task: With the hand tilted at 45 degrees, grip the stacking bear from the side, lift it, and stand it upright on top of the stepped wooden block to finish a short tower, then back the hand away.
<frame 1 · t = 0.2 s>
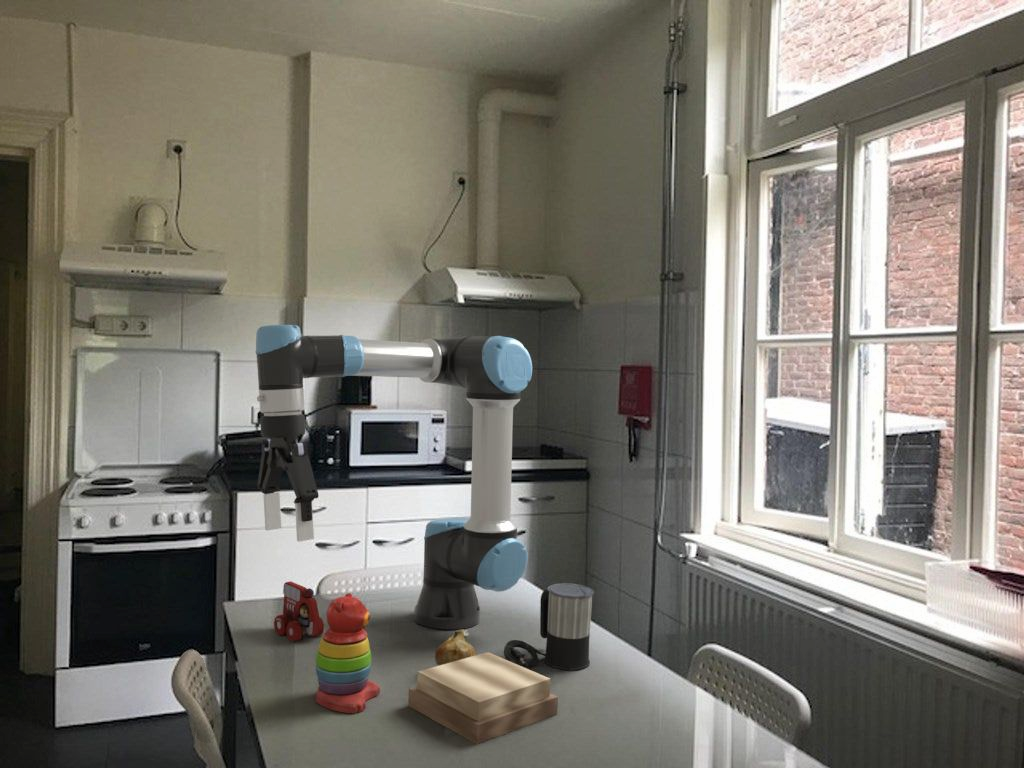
hand: (288, 534, 146), 27 cm above the table, tool pointing down, fingers open, 13 cm apart
stacking bear: (344, 700, 144), on the table
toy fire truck: (299, 636, 175), on the table
onion: (454, 673, 158), on the table
stepped wooden block: (482, 710, 141), on the table
milk frother: (547, 664, 165), on the table
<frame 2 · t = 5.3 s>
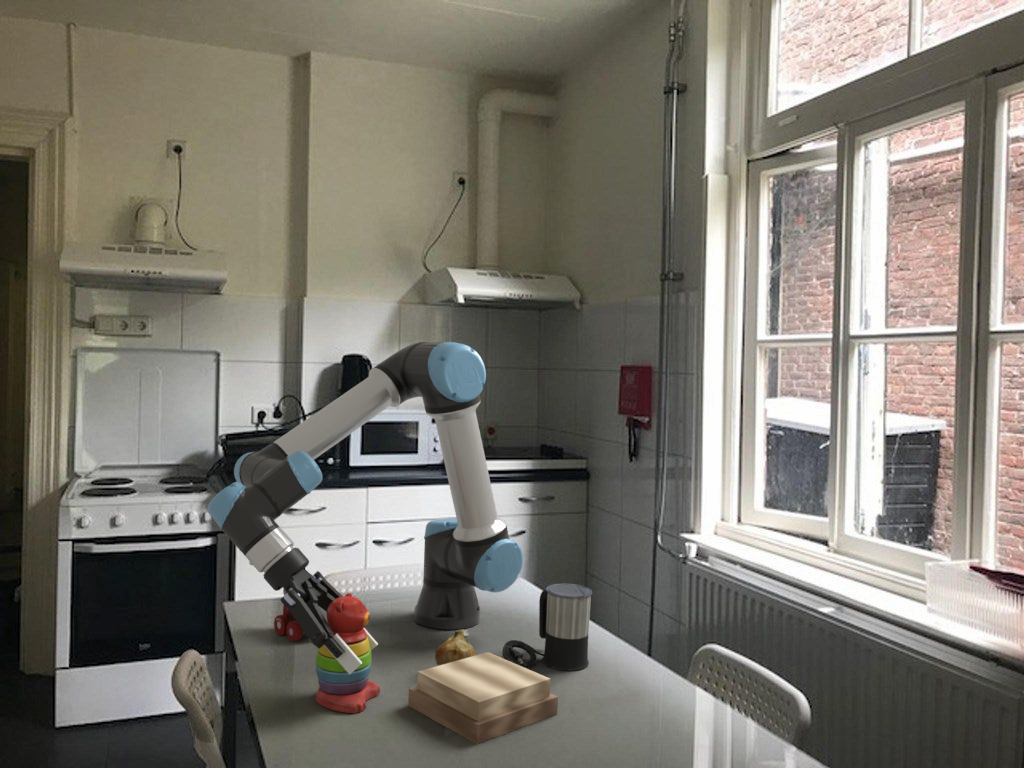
hand: (364, 658, 143), 7 cm above the table, tool tilted 45°, fingers closed on stacking bear, 9 cm apart
stacking bear: (344, 700, 143), on the table, touching gripper
everything else where it was.
when the fingers open (15 cm above the table, at t = 11.9 s): stacking bear drops 1 cm, resting on stepped wooden block.
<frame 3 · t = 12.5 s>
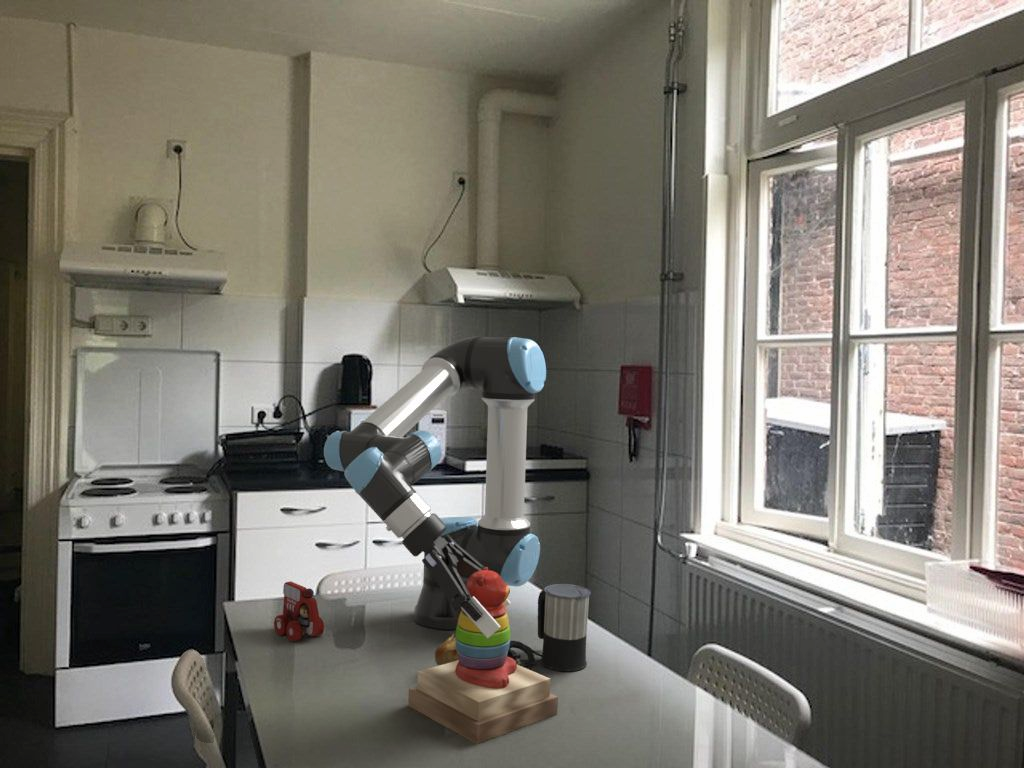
hand: (499, 619, 141), 16 cm above the table, tool tilted 45°, fingers open, 13 cm apart
stacking bear: (483, 675, 141), point 6 cm above the table, touching stepped wooden block
everything else where it was.
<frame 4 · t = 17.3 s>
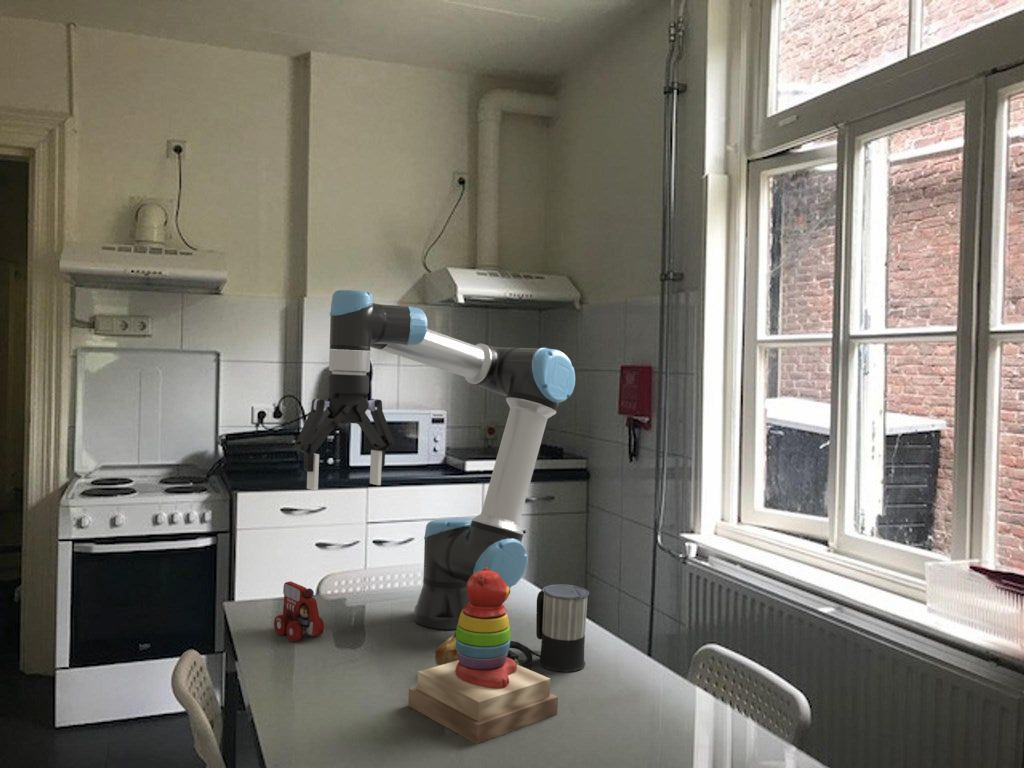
hand: (344, 486, 155), 35 cm above the table, tool pointing down, fingers open, 13 cm apart
at the end: stacking bear inside the target area on the stepped wooden block (0.2 cm from its centre), point 5.8 cm above the stepped wooden block's base; stacking bear tilted 0°; the gripper is holding nothing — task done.
